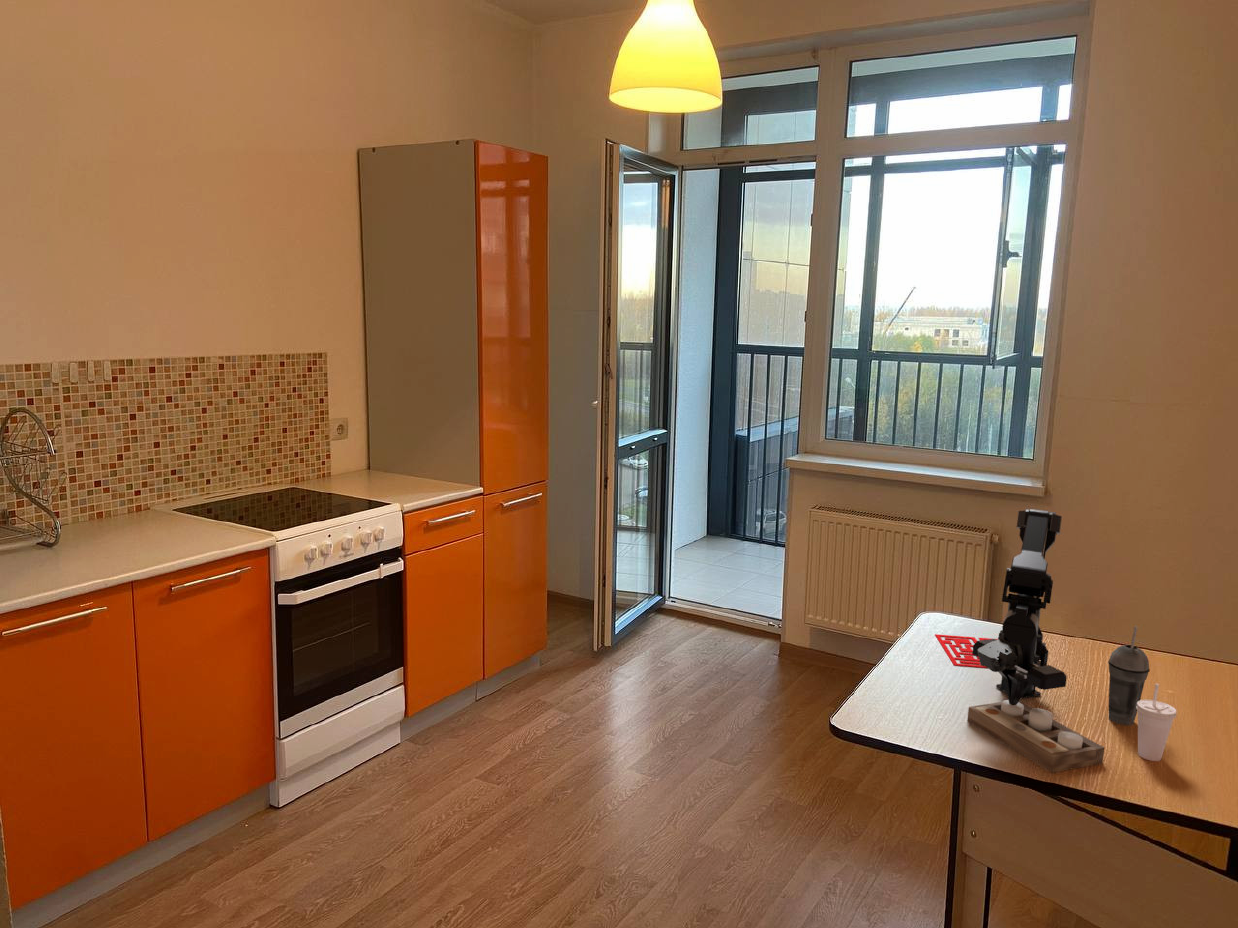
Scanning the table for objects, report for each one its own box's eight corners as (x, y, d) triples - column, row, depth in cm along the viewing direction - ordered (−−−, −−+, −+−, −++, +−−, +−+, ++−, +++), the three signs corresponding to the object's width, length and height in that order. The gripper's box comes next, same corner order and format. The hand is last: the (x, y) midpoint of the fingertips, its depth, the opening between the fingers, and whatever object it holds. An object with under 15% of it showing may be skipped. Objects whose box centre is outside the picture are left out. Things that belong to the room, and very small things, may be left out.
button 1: (1011, 713, 181) (1013, 698, 180) (1026, 721, 177) (1028, 707, 177) (995, 715, 180) (997, 701, 179) (1010, 724, 176) (1012, 709, 175)
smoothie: (1122, 747, 170) (1132, 677, 168) (1154, 747, 171) (1164, 677, 169) (1144, 764, 164) (1155, 691, 162) (1177, 764, 165) (1189, 691, 162)
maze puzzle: (1018, 643, 225) (1018, 640, 225) (1045, 674, 206) (1045, 671, 205) (934, 636, 227) (935, 634, 227) (953, 667, 208) (954, 664, 208)
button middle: (1039, 721, 174) (1041, 707, 174) (1056, 731, 171) (1058, 715, 170) (1023, 724, 173) (1025, 709, 172) (1039, 733, 169) (1041, 718, 169)
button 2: (1068, 745, 168) (1070, 730, 168) (1085, 755, 164) (1088, 739, 164) (1051, 748, 167) (1053, 732, 166) (1069, 758, 163) (1071, 742, 163)
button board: (1015, 713, 183) (1016, 697, 183) (1102, 763, 164) (1104, 745, 164) (967, 720, 179) (969, 704, 179) (1051, 772, 160) (1053, 754, 159)
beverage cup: (1137, 715, 185) (1151, 621, 181) (1145, 731, 178) (1159, 633, 174) (1097, 709, 187) (1110, 616, 183) (1104, 724, 180) (1117, 627, 177)
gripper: (954, 616, 181) (946, 689, 184) (1026, 649, 164) (1016, 730, 167) (998, 611, 185) (990, 683, 188) (1073, 644, 168) (1063, 723, 170)
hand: (1012, 704), depth 178 cm, fingers closed, pressing on button 1
